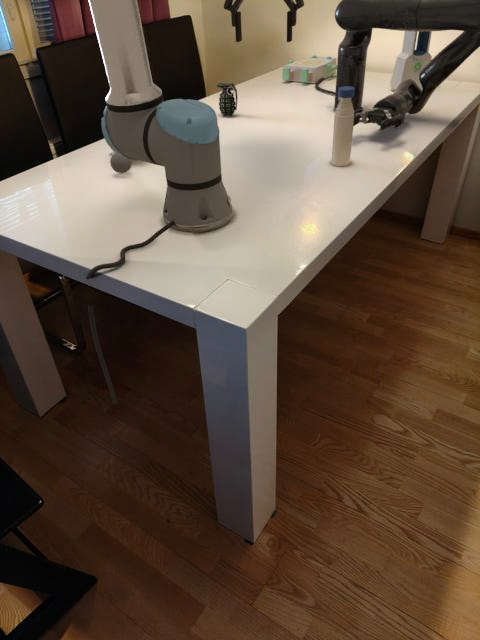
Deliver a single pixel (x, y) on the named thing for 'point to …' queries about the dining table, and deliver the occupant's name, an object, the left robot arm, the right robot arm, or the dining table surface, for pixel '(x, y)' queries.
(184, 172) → the left robot arm
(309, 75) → the decorative block
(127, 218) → the dining table surface
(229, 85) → the grenade
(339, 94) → the cap
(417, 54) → the electronic device
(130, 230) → the dining table surface
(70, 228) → the dining table surface
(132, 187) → the dining table surface
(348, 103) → the bottle
